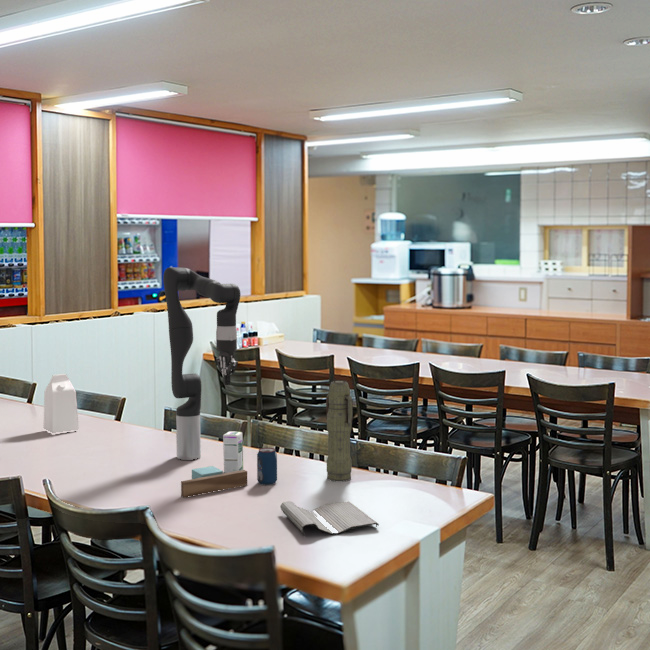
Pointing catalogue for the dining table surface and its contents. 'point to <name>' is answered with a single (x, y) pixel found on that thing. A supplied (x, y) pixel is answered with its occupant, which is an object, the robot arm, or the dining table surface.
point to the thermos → (339, 431)
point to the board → (213, 483)
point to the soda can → (267, 466)
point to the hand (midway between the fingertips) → (226, 384)
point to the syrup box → (233, 451)
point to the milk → (60, 405)
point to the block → (205, 472)
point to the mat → (328, 516)
